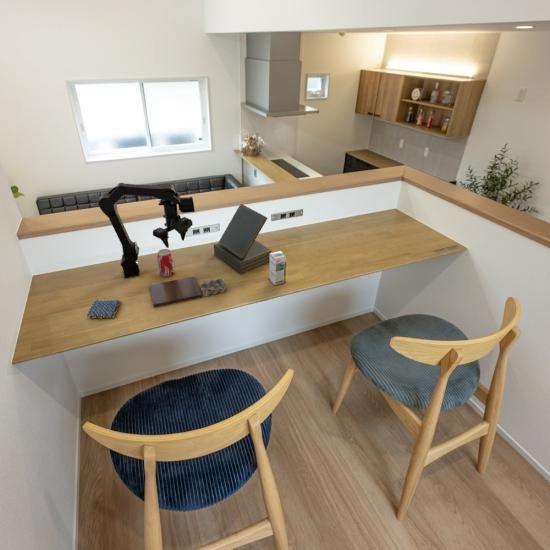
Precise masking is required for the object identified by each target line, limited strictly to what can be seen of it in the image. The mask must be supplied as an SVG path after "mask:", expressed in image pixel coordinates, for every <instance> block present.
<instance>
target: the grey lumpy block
mask: <svg viewBox="0 0 550 550" xmlns="http://www.w3.org/2000/svg"><path fill="white" fill-rule="evenodd" d="M199 287H200V292H202V295H203V296H206V297H209V296H210V295H216V294H217V293H222V294H223V293H225V291H226V288H227V286H226V284H225V281H224V280H223V278H222V277H219V278H217V279H216V278H215V279H210V280H203V281H201V282H200V283H199Z"/></svg>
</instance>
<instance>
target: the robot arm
mask: <svg viewBox="0 0 550 550" xmlns="http://www.w3.org/2000/svg"><path fill="white" fill-rule="evenodd" d="M123 196H135V197H137V196H138V197H150V198H151V197H152V198H156V199H158V206H163V212H164V214H163V215H162V217H163V218H164V219H165V223H164V224H163V225H164V227H165V228H163V227H157V228H155V229H153V230H152V236H153V237H155V238H157V239H159V240H161V242H162V243H163V245H164V246H165V248H166V249H169V248H170V245H169V238H170V236H169V233H170V232H172V231H176V232H177V234H179V237H180V239H181V241H185V238H186V236H187V235H186V234H187V233H188V232H189V229H190V228H191V226H194V225H193V220H192V219H191V218H188V217H186V216H183V217H181V215H180V214H179V212H180V213H182V214H187V213H195V212H196V209H195V202H194V196H187V197H186V196H184V197H181V195H180V194H179V192H177V191H176V188H175V186H174V185H173V184H171V183H159V184H156V185H148V184H147V185H146V184H136V183H135V184H134V183H124V182H119V183H117V185H116V186H114V187H113V188H111V189H110V190H109V191H108V192H103V193H102V194H101V195H100V197H99V200H98V203H97V205H98V207H99V209H100V210H101V211H102V213H103V214H104V215H105V216H106V217H107V218H108V220H109V222H110V224H111V226H112V228H113V230H114V232H115V234H116V236H117V238H118V240H119V243H120V245H121V248H122V249H121V250H122V255H121V260H120V266H121V267H122V272H123V275H124V276H123V277H124V279H127V278H133V277H139V276H140V266H139V262H138V260H139V259H138V258H139V255H140V254H139V253H140V247H139V246H138V242H137V241H136V240H135V241H133V240H132V239H131V237H130V236H129V233H128V232H127V229H126V226H125V225H124V222H123V220H122V218H121V216H120V213H119V210H118V205H117V203H118V202H119V200H121V198H122V197H123Z"/></svg>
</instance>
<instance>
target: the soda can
mask: <svg viewBox="0 0 550 550" xmlns="http://www.w3.org/2000/svg"><path fill="white" fill-rule="evenodd" d="M156 261H157V265H158V270H159V274H160V276H162V277H165V278H167V277H172V276H173V275H174V274H175V273H176V267H175V260H174V255H173V253H172V251H171V249H169V248H162V249H160V250H158V251H157V255H156Z"/></svg>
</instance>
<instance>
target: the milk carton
mask: <svg viewBox="0 0 550 550" xmlns="http://www.w3.org/2000/svg"><path fill="white" fill-rule="evenodd" d="M286 276H287V255H286V254H285V253H284V252H283V251H281V250H279V251H274V252H271V253H270V262H269V281H270V282H271V283H272V284H273V285H274V286H277V285H280V284H283V283H284V284H285V283H286Z"/></svg>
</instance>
